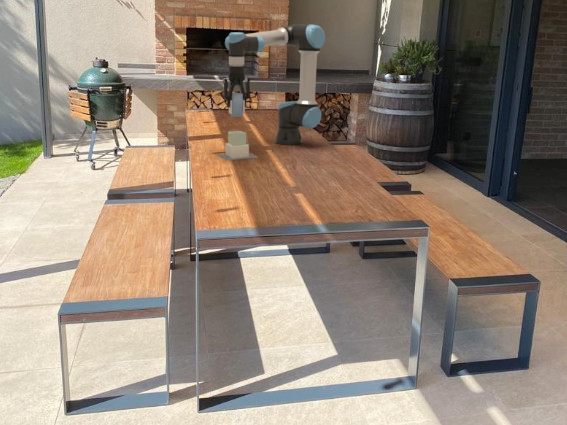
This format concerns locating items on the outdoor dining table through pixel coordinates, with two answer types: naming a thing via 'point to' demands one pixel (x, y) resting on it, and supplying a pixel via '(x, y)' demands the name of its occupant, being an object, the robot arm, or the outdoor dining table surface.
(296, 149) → the outdoor dining table surface
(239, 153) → the tower base
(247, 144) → the beige rounded lump
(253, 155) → the mat
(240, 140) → the tower top
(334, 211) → the outdoor dining table surface
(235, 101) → the grey rounded cylinder
